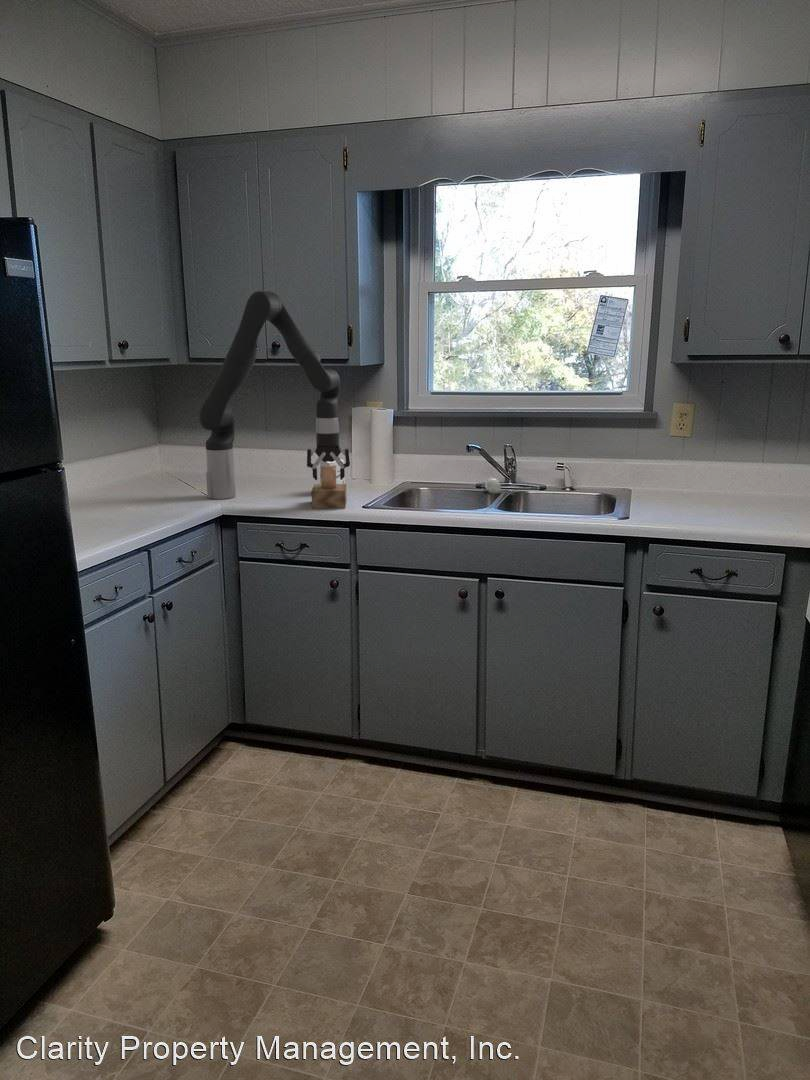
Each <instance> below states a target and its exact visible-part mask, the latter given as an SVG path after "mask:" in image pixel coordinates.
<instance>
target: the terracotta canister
mask: <svg viewBox="0 0 810 1080" xmlns="http://www.w3.org/2000/svg"><path fill="white" fill-rule="evenodd" d="M321 488H324V489H333V488H336V466H321Z"/></svg>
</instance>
